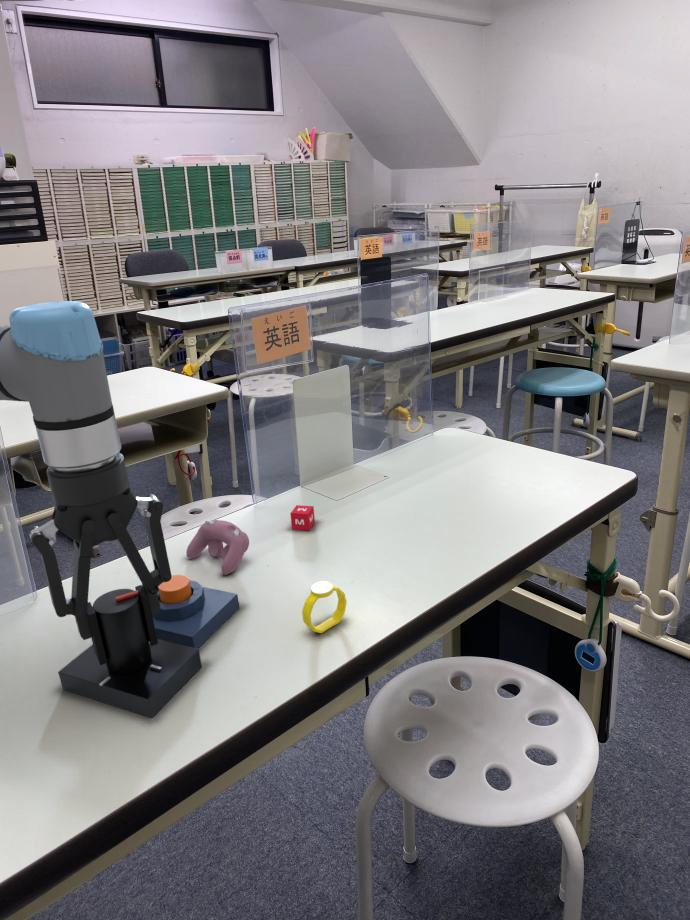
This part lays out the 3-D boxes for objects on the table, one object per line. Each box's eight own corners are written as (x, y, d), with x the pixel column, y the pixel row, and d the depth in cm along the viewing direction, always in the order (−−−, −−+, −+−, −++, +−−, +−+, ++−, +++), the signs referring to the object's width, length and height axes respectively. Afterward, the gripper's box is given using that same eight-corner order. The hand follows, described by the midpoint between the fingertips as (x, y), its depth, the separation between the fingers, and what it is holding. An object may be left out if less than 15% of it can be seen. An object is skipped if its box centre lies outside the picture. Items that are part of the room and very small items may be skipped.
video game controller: (246, 576, 102) (257, 530, 102) (223, 576, 98) (234, 529, 98) (205, 557, 108) (215, 514, 108) (182, 557, 105) (192, 512, 105)
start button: (153, 601, 88) (151, 588, 87) (173, 585, 91) (171, 572, 90) (179, 607, 86) (176, 593, 85) (198, 591, 89) (195, 577, 89)
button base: (119, 632, 88) (113, 606, 87) (168, 592, 97) (163, 567, 95) (194, 652, 83) (189, 624, 82) (239, 607, 92) (235, 582, 90)
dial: (112, 680, 75) (97, 616, 72) (102, 656, 79) (87, 595, 76) (156, 663, 78) (144, 600, 75) (144, 641, 82) (132, 581, 79)
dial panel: (61, 690, 78) (56, 671, 77) (117, 643, 86) (113, 625, 85) (151, 718, 73) (147, 698, 72) (202, 666, 81) (199, 647, 80)
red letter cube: (292, 529, 112) (290, 513, 111) (298, 521, 115) (296, 505, 114) (309, 530, 111) (307, 514, 110) (315, 522, 114) (313, 506, 113)
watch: (338, 612, 89) (334, 572, 87) (351, 621, 87) (348, 581, 85) (300, 632, 86) (296, 591, 83) (314, 642, 84) (310, 600, 81)
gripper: (160, 429, 77) (191, 606, 85) (-17, 470, 68) (37, 661, 77) (182, 447, 71) (213, 635, 79) (-10, 494, 62) (48, 698, 71)
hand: (126, 647), depth 78 cm, fingers closed on dial, 5 cm apart
